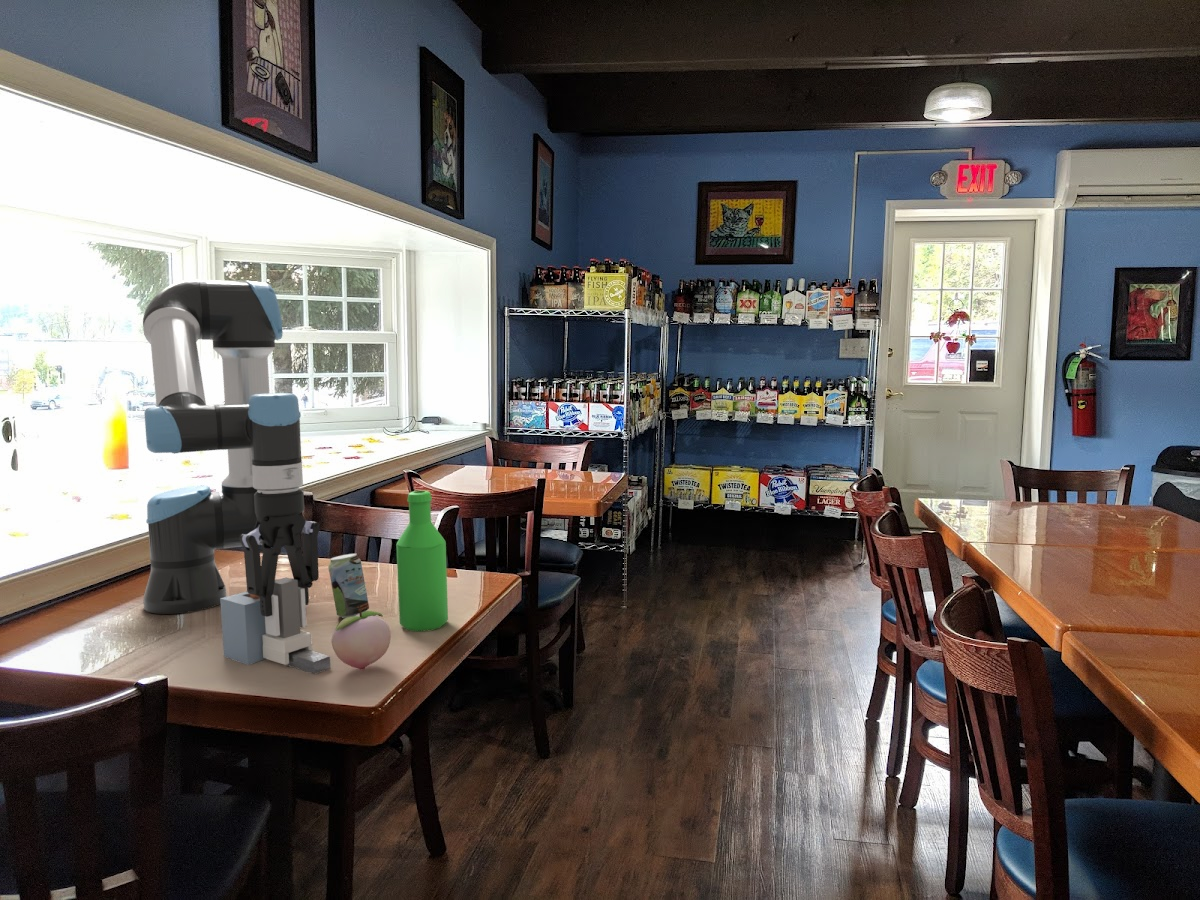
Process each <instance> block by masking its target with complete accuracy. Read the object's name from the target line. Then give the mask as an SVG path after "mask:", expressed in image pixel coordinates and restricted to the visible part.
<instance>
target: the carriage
mask: <svg viewBox="0 0 1200 900" xmlns="http://www.w3.org/2000/svg"><path fill="white" fill-rule="evenodd" d="M273 595H277V596H278V608H279V626H280V635H279V636H273V635H270V634H264V635H262V636H263V658H266V659H265V660H268V661H269V660H270V661H272V662H275V663H277V664H282V665H284V666H288V665H287V664H289V653H290V652H293V651H296V650H299V649H302V648H305V649H308V650H311V651H314V650H313V643H312V640H313V639H312V633H311V632H308V631H304V630H301V627H300V618H299V599H298V580H295V579H294V578H291V577H286V576H285V577H283V578H278V579H275V583H274V591H273Z"/></svg>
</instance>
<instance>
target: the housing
mask: <svg viewBox="0 0 1200 900" xmlns="http://www.w3.org/2000/svg"><path fill="white" fill-rule="evenodd" d="M226 596H227V597H223V598H220V604H219V605H220V616H221V617H220V618H221V630H222V631H221V634H222V645H223V647H222V648H223V649H222V650H223V657H224V658H227V659H230V660H233V661H236V662H239V663H242V664H245V665H247V666H249V665H252V664H255V663H259V662H261V661H264V660H267V659H266V658H263V636H262V635H264V634H267V633H266V626H265V616H262V615H261V611H260V598H258V599H253V598H250V594H249V593H248V592H247V590H246V591H243V592H240V593H236V594H232V595H226Z"/></svg>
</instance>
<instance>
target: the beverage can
mask: <svg viewBox="0 0 1200 900" xmlns="http://www.w3.org/2000/svg"><path fill="white" fill-rule="evenodd" d="M328 572H329V577H330V584H331V589H332V594H333V596H332V597H333V599H334V601H333V602H334V605H335V612H336V615H337V616H338V617H341V618H342V619H345V618H347V617H353V616H356V615H358V614H360V611H359V609H360V608H361V609H362V613H363V612H366V611H369V609H370V605H369V600H368V599H369V598H368V593H367V588H366V582H365V578H364V577H365V576H364V570H363V564H362V560H361V558H360V557H359V556H358V554H357V553H347V554H341V555H338V556H337V555H336V556H333V557H331V558H330V561H329V564H328Z"/></svg>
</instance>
